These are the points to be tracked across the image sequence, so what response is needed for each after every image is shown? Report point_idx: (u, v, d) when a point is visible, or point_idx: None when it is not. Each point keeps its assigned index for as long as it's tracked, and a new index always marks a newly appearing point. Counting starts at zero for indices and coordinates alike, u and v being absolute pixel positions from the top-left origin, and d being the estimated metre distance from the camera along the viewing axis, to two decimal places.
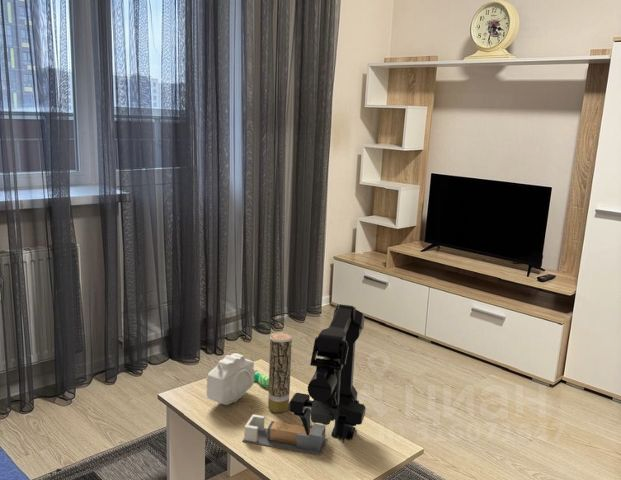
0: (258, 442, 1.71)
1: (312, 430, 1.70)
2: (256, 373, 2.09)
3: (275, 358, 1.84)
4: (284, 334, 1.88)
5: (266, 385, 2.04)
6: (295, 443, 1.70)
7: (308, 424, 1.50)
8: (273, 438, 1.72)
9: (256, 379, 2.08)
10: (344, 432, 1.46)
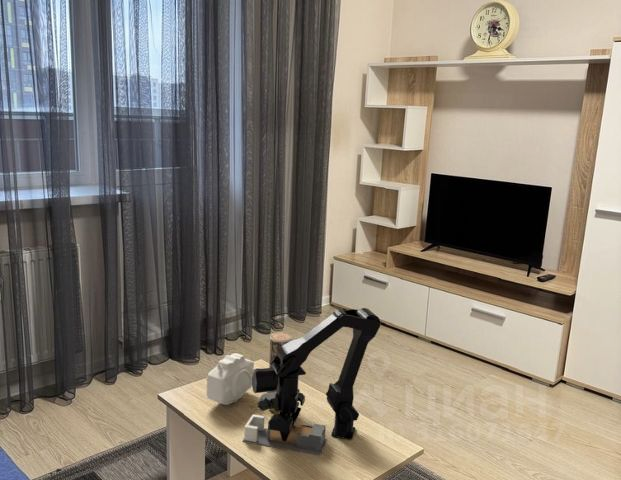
0: (258, 442, 1.71)
1: (312, 430, 1.70)
2: None
3: None
4: (284, 334, 1.88)
5: None
6: (295, 443, 1.70)
7: None
8: (273, 438, 1.72)
9: None
10: None
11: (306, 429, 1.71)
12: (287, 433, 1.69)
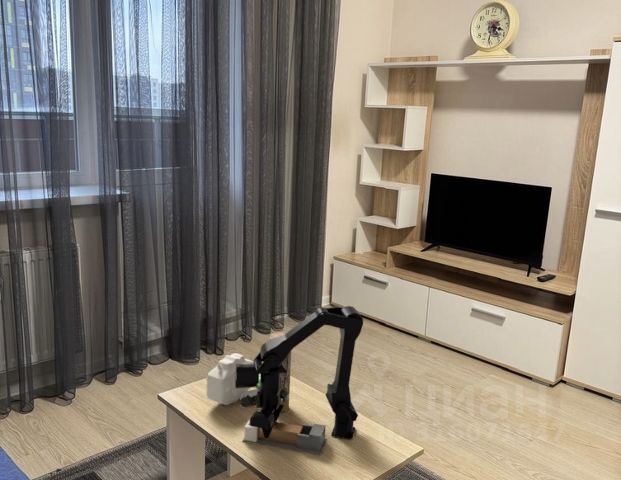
0: (258, 442, 1.71)
1: (312, 430, 1.70)
2: None
3: None
4: (284, 334, 1.88)
5: None
6: (277, 440, 1.72)
7: None
8: None
9: None
10: None
11: (288, 426, 1.72)
12: (269, 430, 1.70)
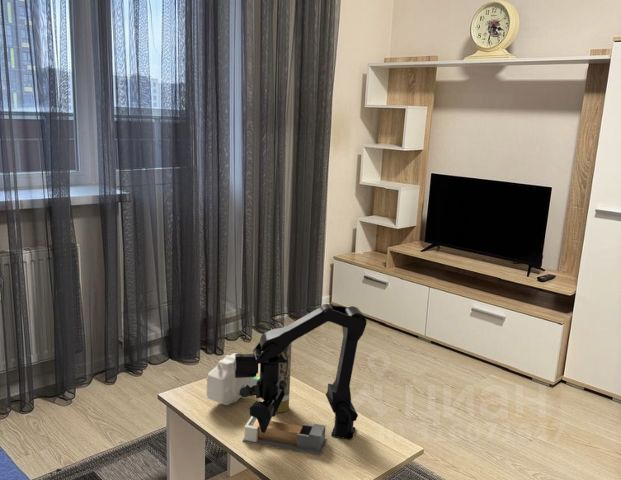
0: (258, 442, 1.71)
1: (312, 430, 1.70)
2: None
3: None
4: None
5: None
6: (277, 440, 1.72)
7: None
8: None
9: None
10: None
11: (288, 426, 1.73)
12: (266, 424, 1.67)
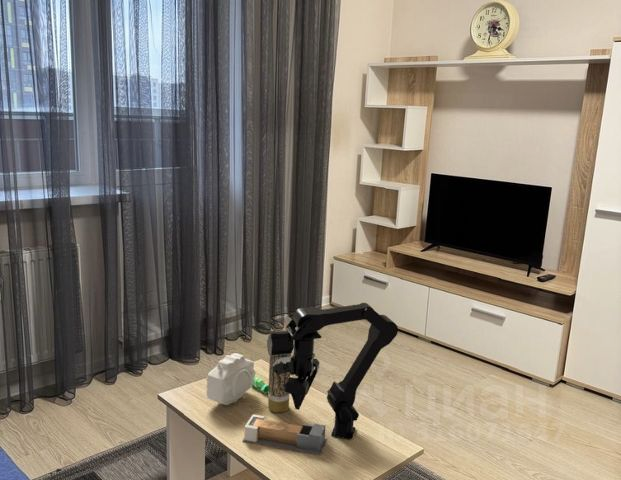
0: (258, 442, 1.71)
1: (312, 430, 1.70)
2: None
3: (275, 358, 1.84)
4: None
5: (259, 387, 2.02)
6: (277, 440, 1.72)
7: None
8: None
9: None
10: None
11: (288, 426, 1.73)
12: (300, 401, 1.66)
